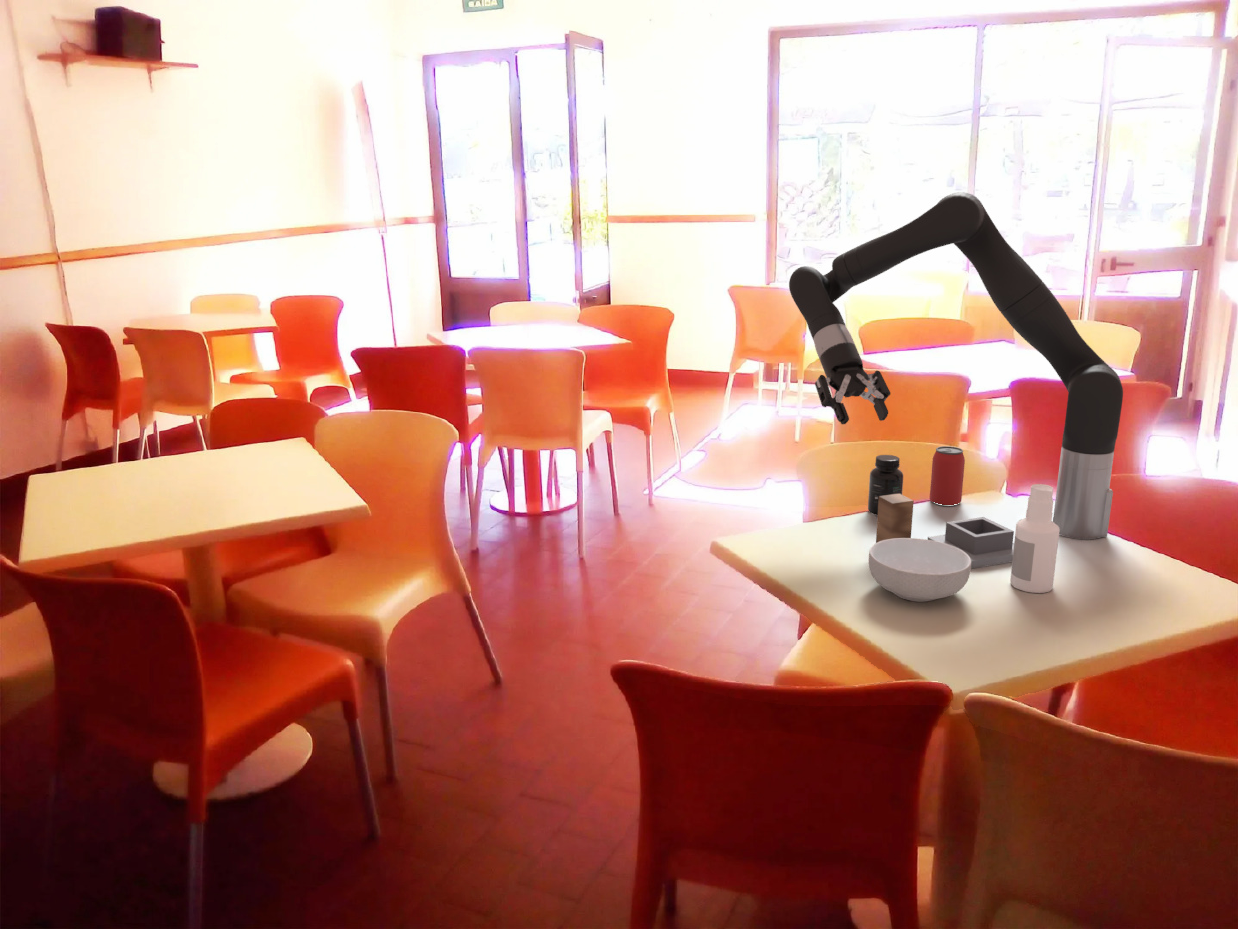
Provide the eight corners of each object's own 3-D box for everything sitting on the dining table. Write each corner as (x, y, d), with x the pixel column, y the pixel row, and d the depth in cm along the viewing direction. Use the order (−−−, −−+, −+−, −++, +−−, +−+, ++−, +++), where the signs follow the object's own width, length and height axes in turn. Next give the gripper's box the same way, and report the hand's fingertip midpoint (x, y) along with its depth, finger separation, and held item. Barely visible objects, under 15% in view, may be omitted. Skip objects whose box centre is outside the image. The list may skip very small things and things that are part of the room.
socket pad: (983, 535, 190) (985, 511, 188) (1029, 559, 178) (1032, 533, 176) (927, 544, 186) (929, 520, 184) (970, 568, 174) (973, 543, 172)
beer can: (923, 499, 211) (927, 447, 208) (948, 496, 213) (953, 444, 210) (941, 508, 205) (945, 454, 202) (967, 505, 207) (972, 451, 204)
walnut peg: (895, 547, 184) (899, 493, 181) (909, 556, 180) (913, 500, 177) (875, 550, 183) (878, 496, 180) (888, 559, 179) (892, 503, 176)
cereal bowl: (970, 619, 154) (974, 578, 152) (864, 607, 159) (866, 568, 157) (966, 578, 170) (969, 541, 168) (869, 569, 175) (871, 532, 173)
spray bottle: (1020, 574, 171) (1030, 478, 166) (1059, 585, 166) (1071, 486, 161) (1003, 586, 166) (1013, 487, 161) (1042, 597, 162) (1054, 496, 156)
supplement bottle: (860, 510, 205) (863, 456, 202) (884, 504, 209) (887, 451, 205) (884, 519, 200) (887, 464, 196) (907, 513, 203) (911, 458, 200)
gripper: (813, 343, 187) (840, 413, 180) (876, 338, 192) (905, 407, 185) (798, 365, 194) (824, 433, 187) (860, 360, 198) (888, 427, 191)
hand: (865, 420), depth 186 cm, fingers open, 8 cm apart
